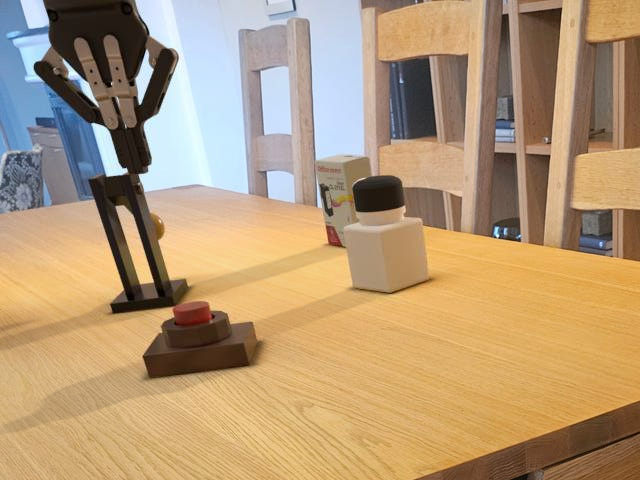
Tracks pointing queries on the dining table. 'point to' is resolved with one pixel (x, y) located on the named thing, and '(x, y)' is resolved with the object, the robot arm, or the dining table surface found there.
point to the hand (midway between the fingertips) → (138, 173)
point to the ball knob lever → (119, 197)
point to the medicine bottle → (384, 238)
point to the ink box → (340, 191)
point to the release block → (200, 346)
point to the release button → (192, 313)
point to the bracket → (134, 292)
